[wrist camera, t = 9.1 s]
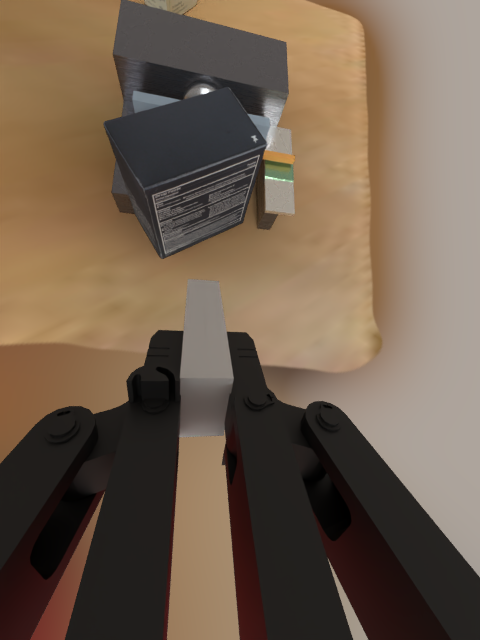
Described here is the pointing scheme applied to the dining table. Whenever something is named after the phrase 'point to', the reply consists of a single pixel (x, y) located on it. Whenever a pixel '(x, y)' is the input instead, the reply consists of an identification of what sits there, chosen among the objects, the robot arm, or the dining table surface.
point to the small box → (188, 167)
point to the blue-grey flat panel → (151, 101)
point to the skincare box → (172, 5)
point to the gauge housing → (207, 84)
